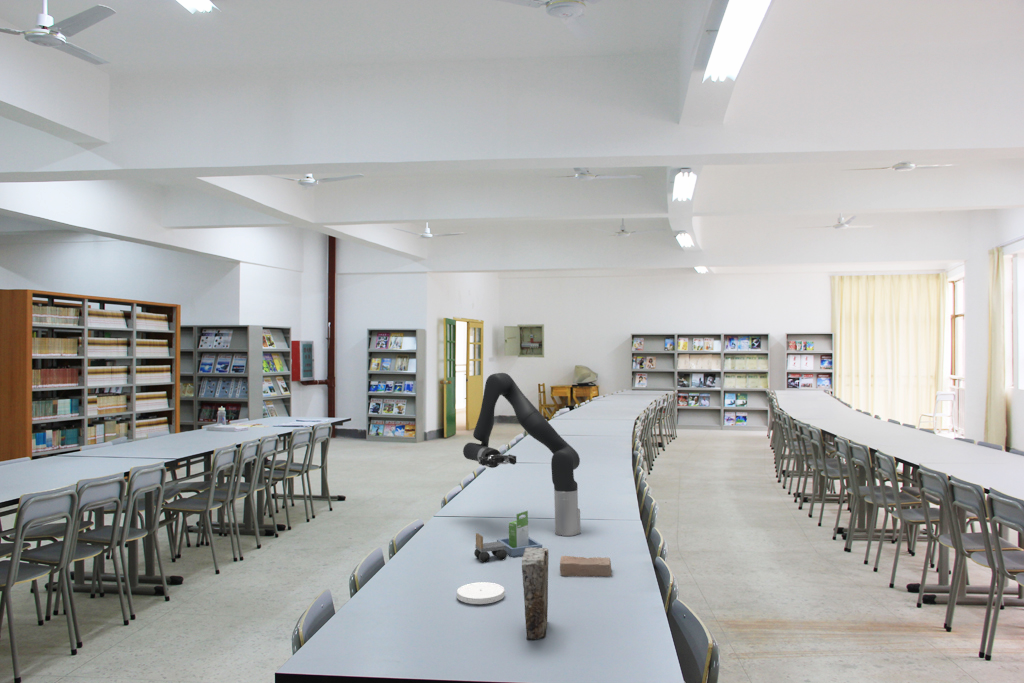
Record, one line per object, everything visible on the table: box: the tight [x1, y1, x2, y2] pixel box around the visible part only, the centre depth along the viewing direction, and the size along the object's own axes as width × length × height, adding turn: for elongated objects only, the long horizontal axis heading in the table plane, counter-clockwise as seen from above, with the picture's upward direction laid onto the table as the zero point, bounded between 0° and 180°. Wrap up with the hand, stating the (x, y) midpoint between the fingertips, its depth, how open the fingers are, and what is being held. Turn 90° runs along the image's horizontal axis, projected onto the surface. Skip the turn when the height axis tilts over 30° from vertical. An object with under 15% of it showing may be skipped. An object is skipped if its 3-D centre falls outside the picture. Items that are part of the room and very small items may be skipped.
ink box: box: [508, 510, 530, 548], centre depth 251 cm, size 7×4×13 cm, turn 140°
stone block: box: [521, 547, 549, 641], centre depth 179 cm, size 13×7×20 cm, turn 178°
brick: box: [559, 555, 612, 578], centre depth 225 cm, size 17×8×5 cm, turn 84°
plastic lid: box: [456, 581, 506, 605], centre depth 203 cm, size 14×14×2 cm
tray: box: [496, 536, 543, 558], centre depth 251 cm, size 12×14×3 cm
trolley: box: [473, 532, 508, 563], centre depth 241 cm, size 10×6×9 cm, turn 112°
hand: (504, 462), depth 263 cm, fingers open, 8 cm apart
